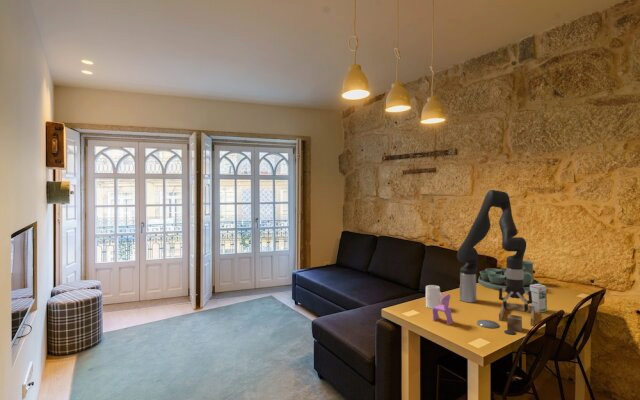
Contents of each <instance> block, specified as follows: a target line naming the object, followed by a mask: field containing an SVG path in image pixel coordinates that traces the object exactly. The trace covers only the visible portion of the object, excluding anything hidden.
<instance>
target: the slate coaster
mask: <svg viewBox="0 0 640 400" xmlns="http://www.w3.org/2000/svg"><path fill="white" fill-rule="evenodd" d="M476 325H478V326H479V327H482V328H487V329H498V328H499V323H498V322H496V321H493V320H490V319H479V320H477V321H476Z"/></svg>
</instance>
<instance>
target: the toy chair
mask: <svg viewBox="0 0 640 400" xmlns="http://www.w3.org/2000/svg"><path fill="white" fill-rule="evenodd" d="M443 296H444V297H443V298H442V300H441V299H440V302H441V304H443V305H438V306H436V307H433V309H432V321H433V322H435V321H437V320H439V319H440V316H439V315H440V314H439V311H441V312H442V313H444V315H445V317H446V326H448V324H449V325H451V324H453V323H454V319H453V315H452V309H451V307H450V306H449V304H450V299H451V294H449V293H447V294H445V295H443ZM438 318H439V319H438ZM436 319H437V320H436ZM434 320H435V321H434ZM452 322H453V323H452ZM450 323H451V324H450Z"/></svg>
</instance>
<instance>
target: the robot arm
mask: <svg viewBox="0 0 640 400" xmlns="http://www.w3.org/2000/svg"><path fill="white" fill-rule="evenodd" d="M492 207H493V208H498V209H500V210H502V213H501V216H500V218H499V220H498V225H499V228H500V232H501V237H502V240H501V241H502V242H501V247H502V249H503V250H504V251H506V252H515V254H513V255H508V256H506V266H507V267H506V268H507V269H506V288H502V287H500V289H499V290H498V291H499V292H498V299H499V300H500V301H502V304H503V307H504V308H505V310H508V309H507V302H508V301H507V300H508V299H510V298H511V299H517V300H518V299H520V300H521V301H522V302H523V303H524V304H523V305H524V306H525V313H527V312H526V311H528V305H529V304H531V303H532V294H531V290H529V291H525V290H524V276H523V260H524V256H525V253H526V249H527V247H528V246H527V240H526V239H525V238H523V237H522V236H521V237H520V236H517V235H518V229H517V225H516V223H515V222H514V217H513V214H512V211H513V210H512V205H511V199H510V196H509V193H507V192H506V191H501V190H495V189H490V190H488V191H487V193H486V194H485V196H484V199H483V202H482V205H481V207H480V209H479V211H478V213H477V216H476V217H475V219H474V221H473V223H472V225H471V227H470V229H469V231H468V234H467V235H466V237H465V239H464V241H463V242H462V243H461V245H460V247H459V248H458V251H457V253H456V259H457V260H458V261H459V262H460V263H463V264H464V263H465V264H464V265H463V266H461V267H460V269H459V271H460V272H459V279H460V280H459V282H460V284H459V301H462V302H463V303H464V302H465V303H476V302H477V301H478V300H477V298H478V297H477V271H478V267H479V266H478V264H479V263H478V262H479V254H478V251H477V249H476V248H475V246H476V245H478V244H479V243H480V242H482V241H483V240H484V239H485V238H486V237H487V235H488V234H489V231H490V229H491V221H490V215H489V214H490V209H491V208H492ZM504 292H506V293H507V294H506V295H505V296H504V297H503V293H504ZM525 294H526V295H527V296H528V300H527V299H526V297H525V296H524V295H525Z"/></svg>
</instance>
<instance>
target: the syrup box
mask: <svg viewBox="0 0 640 400" xmlns="http://www.w3.org/2000/svg"><path fill="white" fill-rule="evenodd" d="M530 290H531V294H532V303H531V304H530V305H529V306H534V311H535V312H536V313H545V312H547V311H548V308H547V307H548V305H547V304H548V301H547V300H548V299H547V286H546V285H544V284H542V283H541V284H533V285H530Z"/></svg>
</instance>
